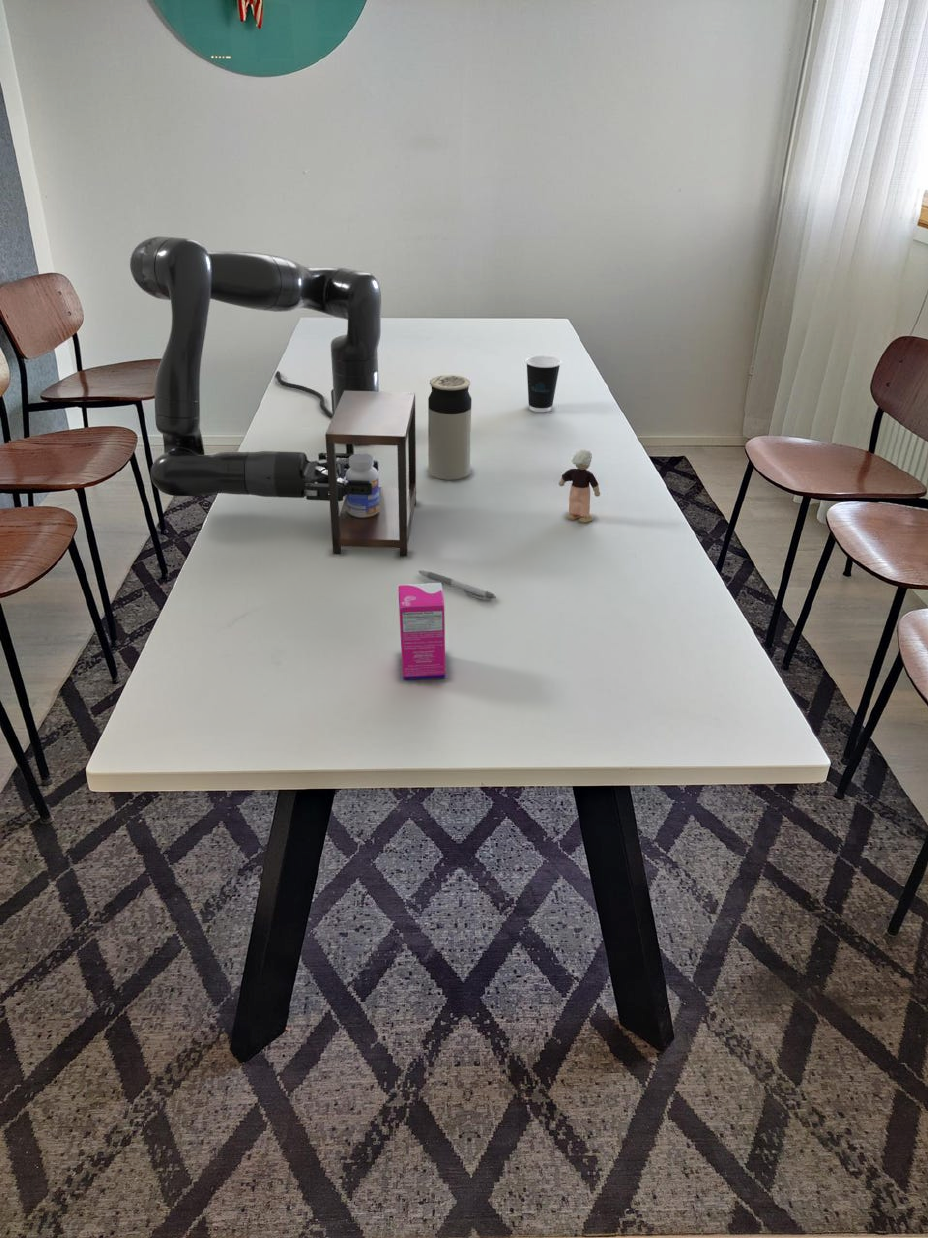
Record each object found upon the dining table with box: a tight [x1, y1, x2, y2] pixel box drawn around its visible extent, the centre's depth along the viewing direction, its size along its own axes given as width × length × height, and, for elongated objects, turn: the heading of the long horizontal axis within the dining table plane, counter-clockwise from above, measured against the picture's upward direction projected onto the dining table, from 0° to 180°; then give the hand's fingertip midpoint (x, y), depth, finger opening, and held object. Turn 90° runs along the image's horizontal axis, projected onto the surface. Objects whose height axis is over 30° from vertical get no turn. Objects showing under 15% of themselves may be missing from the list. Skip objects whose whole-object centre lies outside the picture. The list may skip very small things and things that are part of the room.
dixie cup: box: [524, 355, 562, 413], centre depth 204 cm, size 8×8×11 cm
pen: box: [417, 569, 497, 601], centre depth 139 cm, size 1×14×1 cm, turn 58°
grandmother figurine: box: [558, 448, 601, 524], centre depth 157 cm, size 8×4×13 cm, turn 71°
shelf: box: [324, 390, 417, 558], centre depth 150 cm, size 12×20×20 cm, turn 178°
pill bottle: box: [345, 452, 380, 518], centre depth 151 cm, size 5×5×10 cm
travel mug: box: [427, 374, 473, 481], centre depth 171 cm, size 8×8×18 cm
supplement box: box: [398, 582, 447, 681], centre depth 119 cm, size 6×6×12 cm
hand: (375, 477), depth 151 cm, fingers open, 8 cm apart
